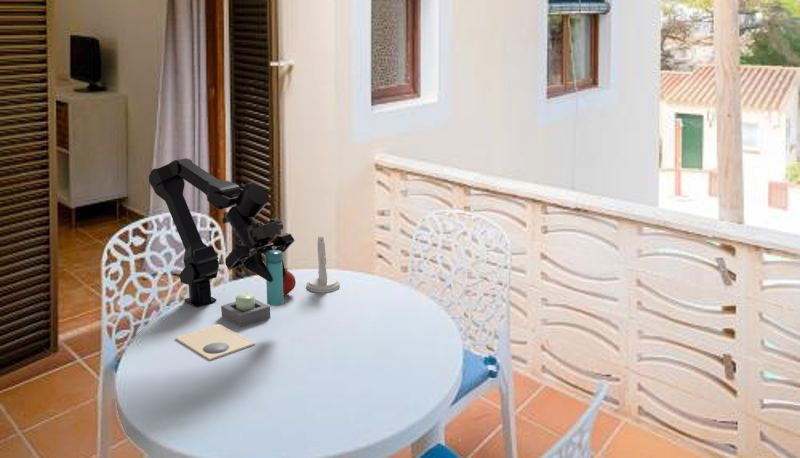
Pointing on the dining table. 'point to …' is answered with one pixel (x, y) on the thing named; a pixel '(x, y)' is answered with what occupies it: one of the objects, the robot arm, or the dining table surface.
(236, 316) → the button housing
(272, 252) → the ball
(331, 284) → the paper towel holder
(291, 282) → the onion
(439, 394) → the dining table surface
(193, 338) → the sheet
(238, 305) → the button
